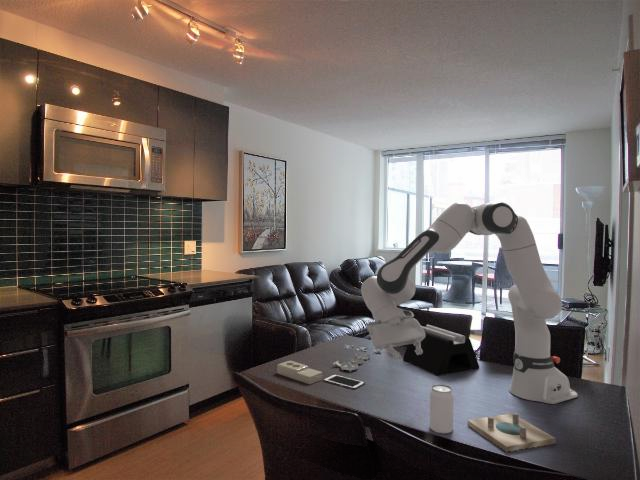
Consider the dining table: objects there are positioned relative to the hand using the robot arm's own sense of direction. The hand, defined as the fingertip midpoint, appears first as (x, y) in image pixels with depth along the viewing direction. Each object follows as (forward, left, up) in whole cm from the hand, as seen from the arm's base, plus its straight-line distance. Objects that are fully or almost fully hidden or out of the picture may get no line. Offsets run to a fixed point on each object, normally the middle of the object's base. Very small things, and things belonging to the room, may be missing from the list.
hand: (409, 356), depth 132 cm
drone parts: (-2, -59, -19) cm, 62 cm away
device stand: (-37, -39, -18) cm, 57 cm away
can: (-3, +13, -18) cm, 22 cm away
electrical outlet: (+25, -41, -18) cm, 52 cm away
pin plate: (-20, +21, -18) cm, 34 cm away
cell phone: (+11, -30, -18) cm, 37 cm away
